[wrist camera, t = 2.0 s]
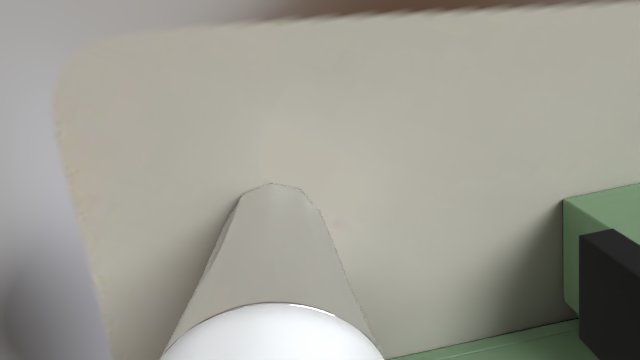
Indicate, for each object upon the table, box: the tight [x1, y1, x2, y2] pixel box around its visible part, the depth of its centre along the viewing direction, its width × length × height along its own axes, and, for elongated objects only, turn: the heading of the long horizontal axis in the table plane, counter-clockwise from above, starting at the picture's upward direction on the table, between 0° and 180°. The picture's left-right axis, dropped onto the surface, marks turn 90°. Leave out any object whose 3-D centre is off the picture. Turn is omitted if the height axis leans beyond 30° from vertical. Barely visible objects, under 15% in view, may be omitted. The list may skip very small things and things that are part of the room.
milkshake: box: [160, 183, 384, 360], centre depth 11 cm, size 4×5×10 cm
